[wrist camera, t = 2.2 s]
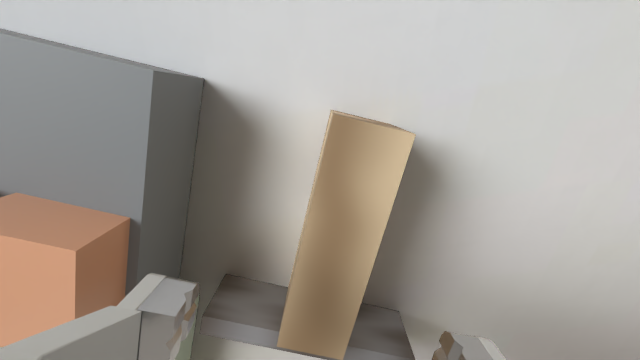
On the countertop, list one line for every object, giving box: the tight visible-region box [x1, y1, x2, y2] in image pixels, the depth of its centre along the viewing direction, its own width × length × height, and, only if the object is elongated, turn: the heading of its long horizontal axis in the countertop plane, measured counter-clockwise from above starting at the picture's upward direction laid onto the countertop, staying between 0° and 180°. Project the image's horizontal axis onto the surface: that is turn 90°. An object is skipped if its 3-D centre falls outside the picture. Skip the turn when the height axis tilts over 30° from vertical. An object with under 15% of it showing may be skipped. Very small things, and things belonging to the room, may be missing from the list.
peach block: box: [0, 193, 130, 347], centre depth 12 cm, size 5×5×3 cm
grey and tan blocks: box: [200, 110, 416, 360], centre depth 16 cm, size 12×13×5 cm
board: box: [0, 29, 204, 297], centre depth 16 cm, size 12×14×5 cm
